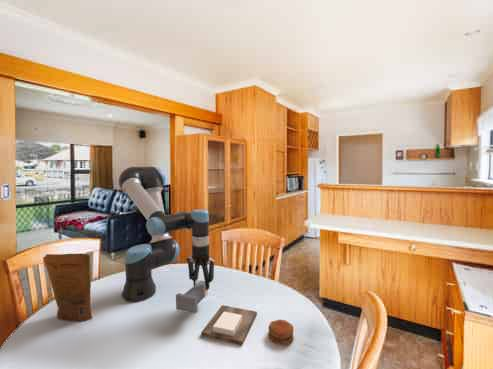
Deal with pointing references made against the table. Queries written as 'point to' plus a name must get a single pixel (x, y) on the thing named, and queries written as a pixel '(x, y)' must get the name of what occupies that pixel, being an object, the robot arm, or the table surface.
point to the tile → (227, 323)
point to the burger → (281, 332)
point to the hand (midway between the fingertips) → (201, 295)
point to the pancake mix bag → (70, 285)
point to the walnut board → (241, 331)
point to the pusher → (190, 298)
